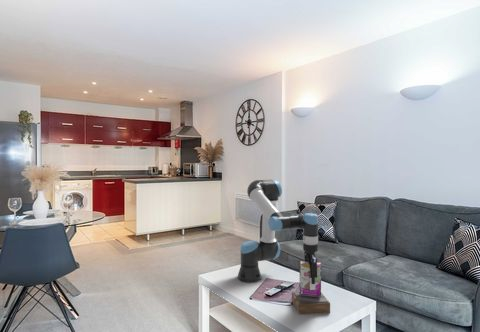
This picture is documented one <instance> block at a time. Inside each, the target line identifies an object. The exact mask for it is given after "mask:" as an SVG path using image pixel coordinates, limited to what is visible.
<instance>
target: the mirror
mask: <svg viewBox="0 0 480 332" xmlns="http://www.w3.org/2000/svg"><path fill="white" fill-rule="evenodd" d="M291 302H292V304H293V306H294V308H295V309H296V312H297V313H298V314H299V315H314V314H330V313H331V302H330V301H329V300H328V298H327V297H326V296H325V295H324V294H323V293H322V292H321V297H320V296H310V295H300V294H299V291H293V292H291Z"/></svg>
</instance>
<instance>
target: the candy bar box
mask: <svg viewBox="0 0 480 332" xmlns="http://www.w3.org/2000/svg"><path fill="white" fill-rule="evenodd" d="M309 276H310V265H309V263H308V262H304V261H302V260H301V261H299V291H298V292H299V294H300V295H310V296H320V297H321V293H322V262H317V278H315V290H310V278H309Z"/></svg>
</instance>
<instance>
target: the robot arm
mask: <svg viewBox="0 0 480 332" xmlns="http://www.w3.org/2000/svg"><path fill="white" fill-rule="evenodd" d="M246 192H247V196H248V198H249V199H250V201H252V202H254V203H255V205H257V207H258V208H259V210H260V211H261V212H262V225H261V229H262V230H261V237H260V238H259V242H258V241H257V240H248V241H245V242H243V243H242V244H241V245H240V267H239V269H238V274H237V279H238V280H239V281H241V282H243V283H256V282H259V281H260V280H261V279H262V274H261V271H260V268H259V262H263V261H272V260H276V259H277V258H279V256H280V253H281V246H280V243H279V242H278V239H277V238H276V237H275V236H276V232H279V231H285V230H286V231H288V230H298V229H299V230H303V233H302V235H303V236H302V241H303V242H302V244H303V245H302V246H303V248H302V249H303V252H304V257H303V258H304V262H308V263H309V265H310V276H309V278H310V290H315V278H317V263H318V258H317V257H316V254H315V253H317V252H319V251H318V250H319V244H318V243H319V217H318V214H317V213H309V212H307V213H304V214H301V213H292V214H291V215H290V214H289V215H283V214H282V213H281V212H280V211H279V210H278V209H277V204H276V203H277V202H279V198H280V197H282V195H283V189H282V185H281V182H279V181H278V180H276V179H256V180H253V181H251V183H249V185H248V187H247V190H246Z"/></svg>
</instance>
